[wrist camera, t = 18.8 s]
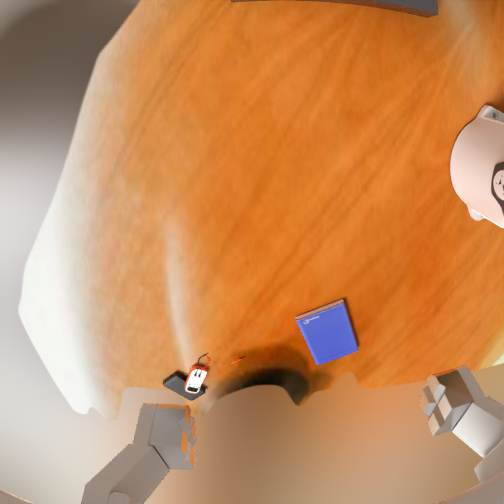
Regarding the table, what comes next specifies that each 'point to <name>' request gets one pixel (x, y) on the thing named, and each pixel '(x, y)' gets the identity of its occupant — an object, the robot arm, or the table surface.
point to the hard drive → (328, 332)
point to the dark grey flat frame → (389, 5)
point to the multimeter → (189, 382)
